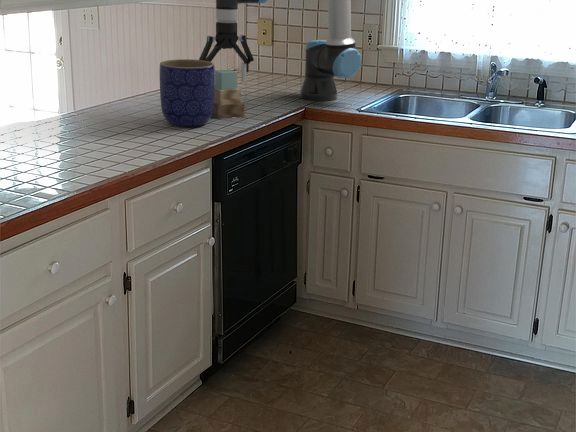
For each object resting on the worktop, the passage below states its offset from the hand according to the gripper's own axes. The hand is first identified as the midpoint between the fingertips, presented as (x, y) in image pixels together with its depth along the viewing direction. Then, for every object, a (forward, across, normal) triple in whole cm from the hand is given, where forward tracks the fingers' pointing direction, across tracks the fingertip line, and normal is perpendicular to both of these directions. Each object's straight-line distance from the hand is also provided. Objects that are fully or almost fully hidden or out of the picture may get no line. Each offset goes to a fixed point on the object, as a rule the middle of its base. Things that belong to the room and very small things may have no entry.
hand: (226, 82), depth 290 cm
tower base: (+12, 0, 0) cm, 12 cm away
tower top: (+7, 0, 0) cm, 7 cm away
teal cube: (+2, 0, 0) cm, 2 cm away
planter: (+12, +18, +9) cm, 23 cm away
